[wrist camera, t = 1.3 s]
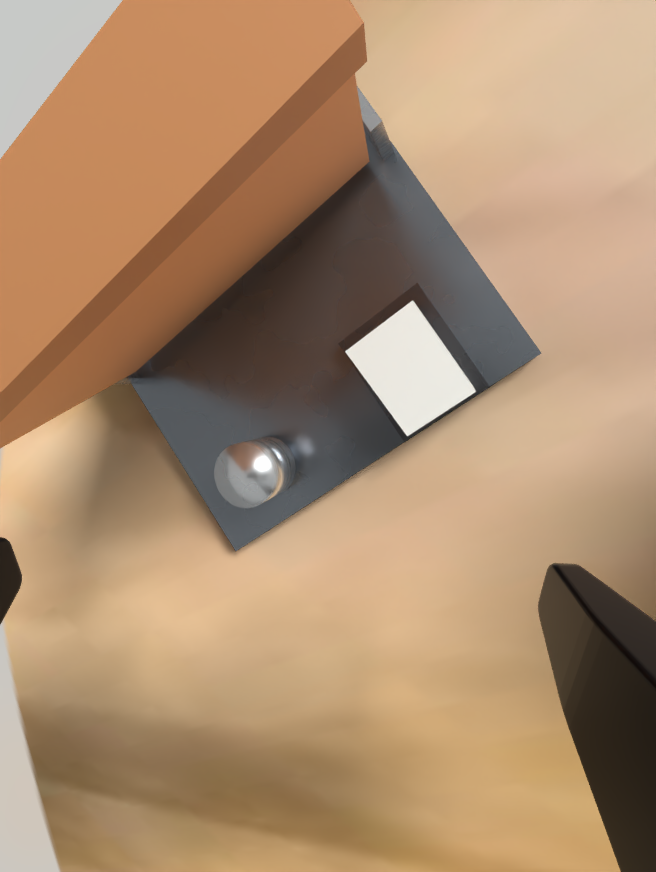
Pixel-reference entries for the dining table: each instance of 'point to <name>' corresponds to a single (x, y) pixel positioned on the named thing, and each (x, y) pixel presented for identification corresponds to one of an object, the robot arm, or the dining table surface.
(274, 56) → the orange lever
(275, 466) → the metal button
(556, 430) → the dining table surface
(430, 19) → the dining table surface
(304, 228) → the panel
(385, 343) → the block
